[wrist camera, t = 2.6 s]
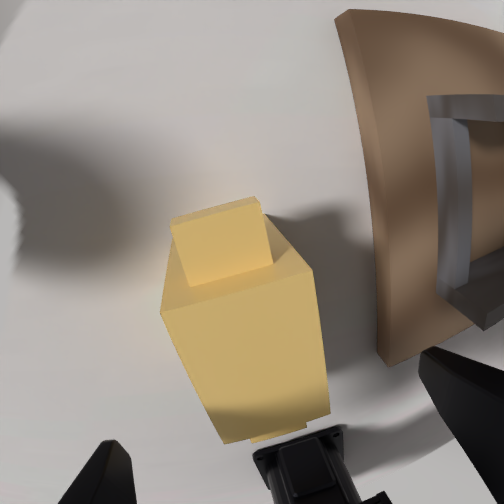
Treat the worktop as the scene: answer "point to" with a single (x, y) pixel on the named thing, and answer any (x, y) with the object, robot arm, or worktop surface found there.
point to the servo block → (245, 322)
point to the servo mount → (430, 172)
